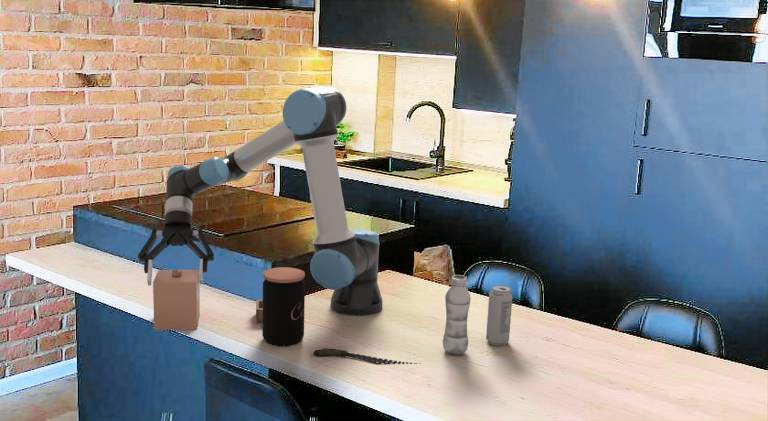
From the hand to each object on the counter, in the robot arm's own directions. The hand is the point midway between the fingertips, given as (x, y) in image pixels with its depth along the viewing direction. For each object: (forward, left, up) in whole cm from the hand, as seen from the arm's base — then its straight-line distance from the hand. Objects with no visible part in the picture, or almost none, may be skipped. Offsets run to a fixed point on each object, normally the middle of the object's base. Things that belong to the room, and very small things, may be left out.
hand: (175, 282), depth 216 cm
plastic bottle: (-72, +27, -11) cm, 77 cm away
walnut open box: (-27, 0, -10) cm, 29 cm away
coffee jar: (-29, +16, -11) cm, 34 cm away
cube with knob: (-1, +2, -11) cm, 11 cm away
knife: (-49, +31, -11) cm, 59 cm away
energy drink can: (-85, +21, -11) cm, 88 cm away
